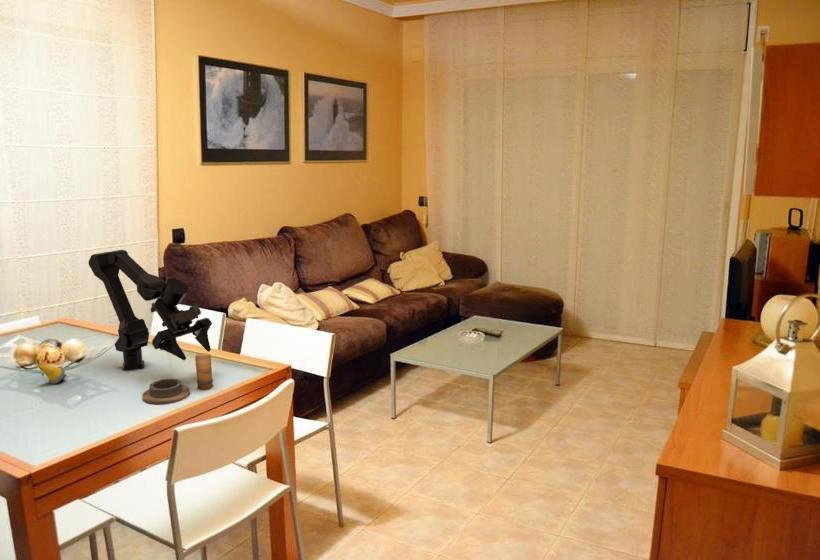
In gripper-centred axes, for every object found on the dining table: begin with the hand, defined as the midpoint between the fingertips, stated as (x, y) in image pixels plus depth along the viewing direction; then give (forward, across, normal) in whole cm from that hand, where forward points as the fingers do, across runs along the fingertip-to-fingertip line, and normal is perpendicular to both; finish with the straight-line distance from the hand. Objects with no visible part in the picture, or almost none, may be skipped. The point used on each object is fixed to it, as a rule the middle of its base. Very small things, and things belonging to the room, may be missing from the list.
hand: (197, 355), depth 203 cm
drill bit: (-21, -22, +34) cm, 46 cm away
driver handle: (+8, 0, +5) cm, 10 cm away
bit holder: (+5, -10, +8) cm, 14 cm away
